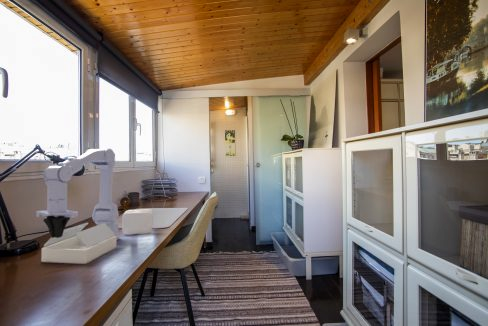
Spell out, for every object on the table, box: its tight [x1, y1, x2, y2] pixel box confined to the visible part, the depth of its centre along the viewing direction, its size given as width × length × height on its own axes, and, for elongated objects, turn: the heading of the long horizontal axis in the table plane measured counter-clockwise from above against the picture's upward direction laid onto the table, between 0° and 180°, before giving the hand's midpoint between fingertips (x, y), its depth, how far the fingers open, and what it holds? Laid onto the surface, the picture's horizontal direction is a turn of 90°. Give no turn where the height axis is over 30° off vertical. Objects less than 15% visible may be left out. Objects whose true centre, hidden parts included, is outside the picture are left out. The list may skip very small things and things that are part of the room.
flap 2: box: [74, 223, 115, 248], centre depth 100 cm, size 16×7×1 cm
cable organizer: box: [121, 208, 154, 236], centre depth 133 cm, size 15×11×12 cm
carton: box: [40, 235, 117, 265], centre depth 100 cm, size 18×18×5 cm
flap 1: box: [43, 222, 89, 247], centre depth 101 cm, size 16×7×1 cm
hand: (56, 237), depth 88 cm, fingers closed
